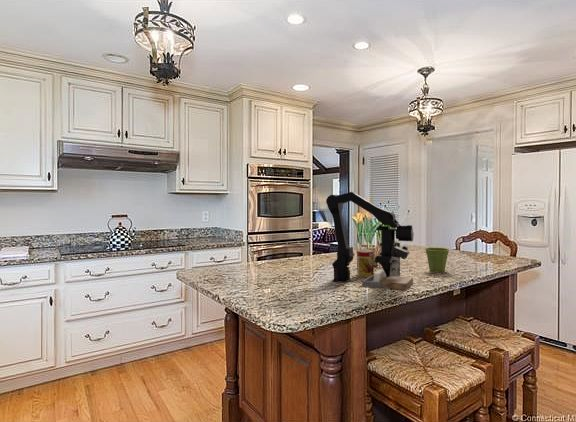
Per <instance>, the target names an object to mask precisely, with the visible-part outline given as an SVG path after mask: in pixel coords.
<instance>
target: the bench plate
mask: <svg viewBox="0 0 576 422" xmlns="http://www.w3.org/2000/svg"><path fill="white" fill-rule="evenodd" d="M413 284H414V278H413V277H408V276H400V277H399V276H389V277H387V278H386V279H384V280H383V281H382V287H381V288H384V289H395V290H405V291H406V290H408V289H409V288H410V287H411V286H412V285H413Z"/></svg>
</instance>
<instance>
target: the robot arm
mask: <svg viewBox="0 0 576 422" xmlns="http://www.w3.org/2000/svg"><path fill="white" fill-rule="evenodd" d="M325 199H326V201H325V203H326V206H327V209H328V210H329V212H330V214H331V216H332V220H333V225H334V231H335V237H336V242H337V251H336V259H335V260H334V261H333V262H332V268H333V279H332V282H340V283H347V282H349V281H350V280H351V270H350V263H351V262H353V260H354V256H355V253H354V247H353V246H350V244H348V239H347V238H348V237H347V233H346V227H345V223H344V217H343V207H344V204H346V203H349V202H352V203H353V204H354V205H356V206H358V207H360V208H362V209H363V210H365V211H366V212H368V213H369V214H371V215H373V216H374V217H375V218H376V219H377V220H378V222H379V223H381V224H378V226H377V227H376V229H375V230H376V231H380V243H379V246H380V250H381V251H380V252H379V254H378V255H376V256H374V257H375V258H374V263H376V264H377V263H379V264H380V265H381V268H382V269H384V272H385V274H386V276H387V277H389V276H390V273H391V269H392V265H393V263H395V262H396V261H397V260H394V258H393V257H397V258H400V259H402V260H406V259H407V258H408V256H409V254H410V250H409V248H408V246H406V245H405V246H404V245H403V246H402V247H401V246H400V247H397V243H395V242H396V240H398V242H414V236H415V234H414V230H413V229H414V228H413V225H412V224H408V225H403V224H402V225H401V224H400V222H398V221H397V218H396V214H395V213H394V212H393V211H390V210H388V209H385V208H382V207H379V206H377V205H376V204H374V203H372V202H371V201H369V200H367V199H366V198H364V197H362V196H361V195H359V194H357V192H355V191H349V192H346V193H343V194H330V195H328V196H327V198H325Z"/></svg>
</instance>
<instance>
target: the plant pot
mask: <svg viewBox="0 0 576 422" xmlns="http://www.w3.org/2000/svg"><path fill="white" fill-rule="evenodd" d="M424 250H425V252H426V253H425V254H426V257H427V262H428V269H429V271H430V272H433V273H441V272H442V273H444V272H445V271H446V265H447V261H448V260H447V259H448V255H449V251H450V250H451V249H450V248H446V247H426V248H424Z"/></svg>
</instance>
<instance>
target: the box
mask: <svg viewBox="0 0 576 422" xmlns="http://www.w3.org/2000/svg"><path fill="white" fill-rule="evenodd" d="M386 278H387V276H386ZM361 287H371V288H380V289H382V288H383V287H382V283H381V282H374V275H372V276H370V277H366V278H365V279H364V280H362V281H361Z"/></svg>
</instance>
